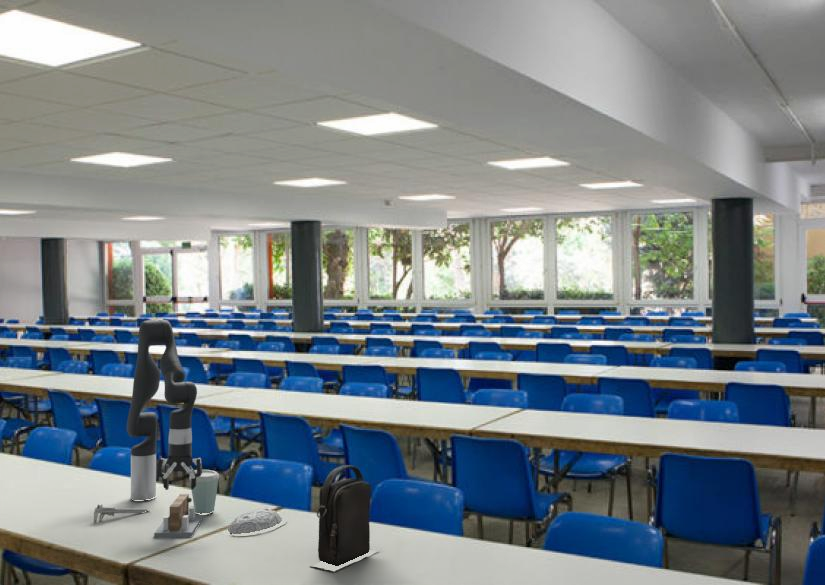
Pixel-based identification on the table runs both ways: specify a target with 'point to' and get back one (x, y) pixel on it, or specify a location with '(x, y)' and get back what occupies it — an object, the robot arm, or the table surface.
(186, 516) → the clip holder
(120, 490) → the table surface
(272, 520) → the oval brooch
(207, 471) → the disposable coffee cup
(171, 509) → the cabinet door
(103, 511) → the caliper
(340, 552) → the shoulder bag
